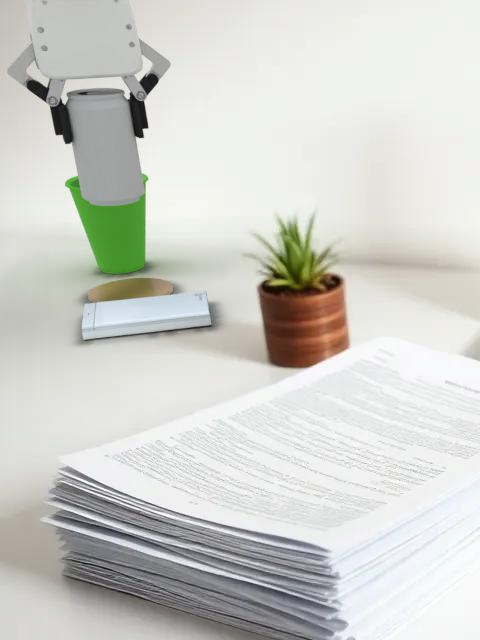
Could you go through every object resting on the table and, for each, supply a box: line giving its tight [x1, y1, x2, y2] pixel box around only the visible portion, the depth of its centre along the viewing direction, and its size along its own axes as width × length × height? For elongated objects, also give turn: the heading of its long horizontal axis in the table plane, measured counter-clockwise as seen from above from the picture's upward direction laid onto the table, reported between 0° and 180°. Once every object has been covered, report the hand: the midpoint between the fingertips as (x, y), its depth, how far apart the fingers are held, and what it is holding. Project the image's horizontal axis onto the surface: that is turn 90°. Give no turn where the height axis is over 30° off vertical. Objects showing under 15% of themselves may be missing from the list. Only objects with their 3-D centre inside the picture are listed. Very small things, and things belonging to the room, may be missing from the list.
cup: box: [64, 173, 149, 275], centre depth 137 cm, size 9×9×11 cm
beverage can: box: [64, 87, 145, 206], centre depth 124 cm, size 6×6×12 cm
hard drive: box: [81, 290, 212, 341], centre depth 122 cm, size 2×8×12 cm
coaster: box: [87, 277, 174, 303], centre depth 130 cm, size 9×9×1 cm
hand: (103, 137), depth 123 cm, fingers closed on beverage can, 6 cm apart
